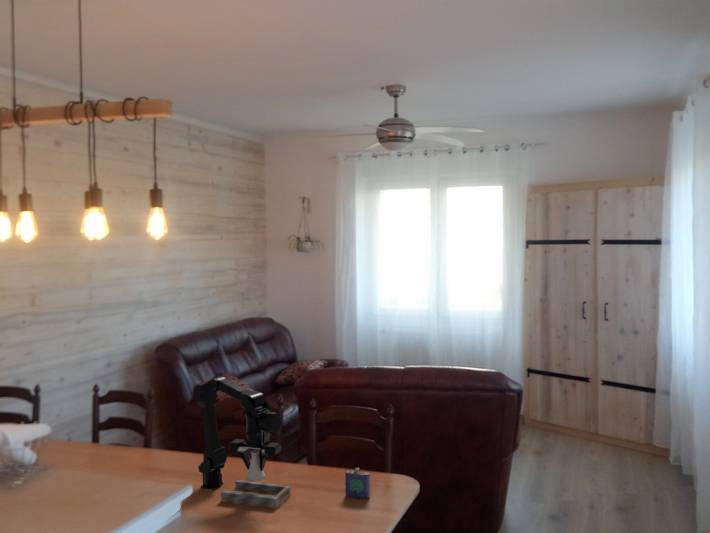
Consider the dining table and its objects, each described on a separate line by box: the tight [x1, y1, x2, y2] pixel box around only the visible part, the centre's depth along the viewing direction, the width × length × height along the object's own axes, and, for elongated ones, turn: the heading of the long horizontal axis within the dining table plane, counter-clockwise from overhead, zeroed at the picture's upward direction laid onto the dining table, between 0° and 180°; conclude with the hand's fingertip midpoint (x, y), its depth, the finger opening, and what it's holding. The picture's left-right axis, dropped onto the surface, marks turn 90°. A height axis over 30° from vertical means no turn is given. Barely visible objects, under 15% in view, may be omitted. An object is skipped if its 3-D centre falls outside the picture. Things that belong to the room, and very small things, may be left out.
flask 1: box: [245, 449, 266, 482], centre depth 231 cm, size 7×7×10 cm
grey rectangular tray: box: [220, 479, 292, 510], centre depth 231 cm, size 22×12×4 cm, turn 72°
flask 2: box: [344, 467, 371, 500], centre depth 232 cm, size 9×3×11 cm, turn 74°
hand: (255, 470), depth 231 cm, fingers closed on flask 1, 5 cm apart
